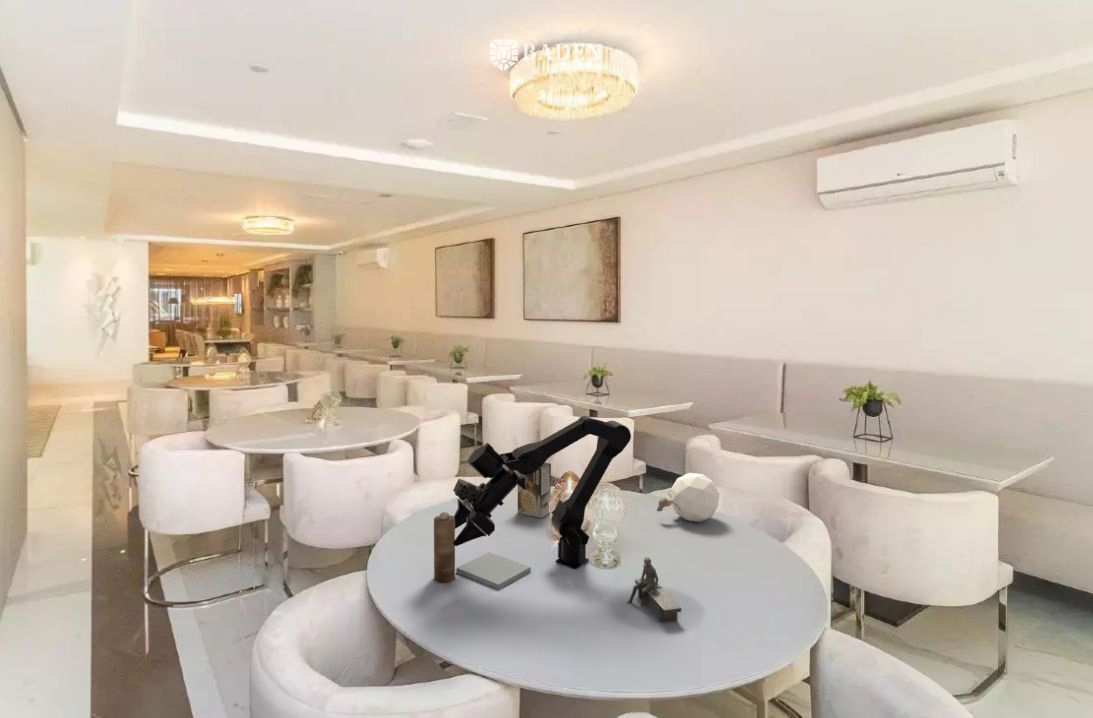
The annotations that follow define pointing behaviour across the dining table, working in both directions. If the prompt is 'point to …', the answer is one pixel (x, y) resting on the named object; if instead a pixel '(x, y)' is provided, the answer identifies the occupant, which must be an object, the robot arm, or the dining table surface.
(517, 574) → the slate board
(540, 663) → the dining table surface
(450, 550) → the pepper mill
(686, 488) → the faceted white ball
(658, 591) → the sculpture
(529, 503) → the coffee box
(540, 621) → the dining table surface
